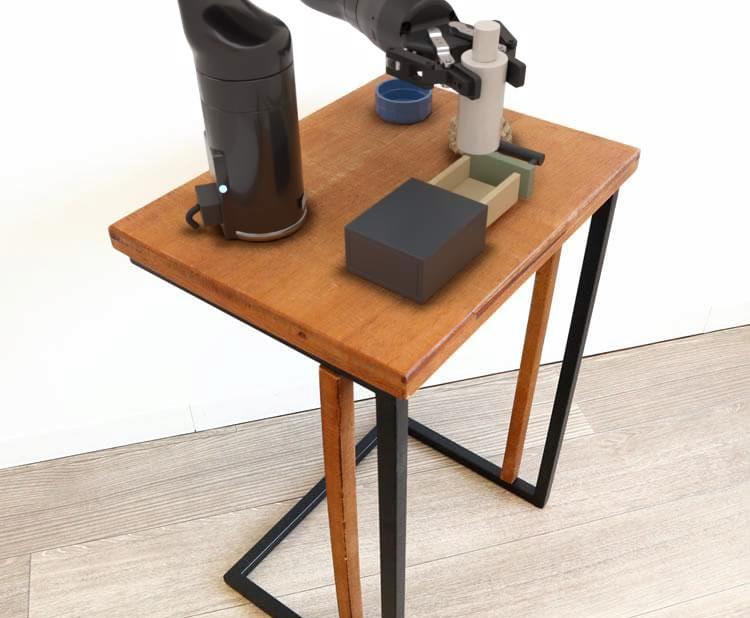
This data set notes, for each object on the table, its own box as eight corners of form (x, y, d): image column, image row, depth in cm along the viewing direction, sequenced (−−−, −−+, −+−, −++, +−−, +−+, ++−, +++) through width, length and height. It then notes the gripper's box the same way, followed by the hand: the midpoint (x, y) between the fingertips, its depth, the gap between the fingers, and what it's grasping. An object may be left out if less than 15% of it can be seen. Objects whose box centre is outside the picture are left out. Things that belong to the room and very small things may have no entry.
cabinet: (410, 219, 90) (411, 176, 86) (484, 249, 86) (488, 205, 82) (345, 270, 84) (343, 226, 80) (422, 305, 79) (423, 260, 76)
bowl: (385, 129, 105) (385, 106, 103) (368, 104, 110) (368, 81, 108) (439, 120, 106) (440, 97, 104) (420, 96, 111) (421, 73, 109)
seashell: (448, 152, 106) (443, 157, 97) (451, 102, 104) (447, 102, 95) (510, 156, 105) (511, 162, 96) (515, 106, 103) (516, 106, 94)
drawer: (489, 157, 98) (491, 129, 95) (550, 178, 94) (554, 149, 92) (417, 213, 89) (418, 183, 87) (482, 238, 86) (484, 208, 83)
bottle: (453, 153, 84) (460, 33, 76) (458, 131, 87) (465, 14, 79) (497, 156, 83) (509, 36, 75) (500, 135, 87) (512, 17, 78)
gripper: (344, -2, 84) (437, 61, 73) (463, -29, 89) (567, 27, 78) (347, 71, 89) (434, 140, 78) (459, 42, 94) (555, 103, 83)
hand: (500, 83), depth 78 cm, fingers closed on bottle, 4 cm apart
